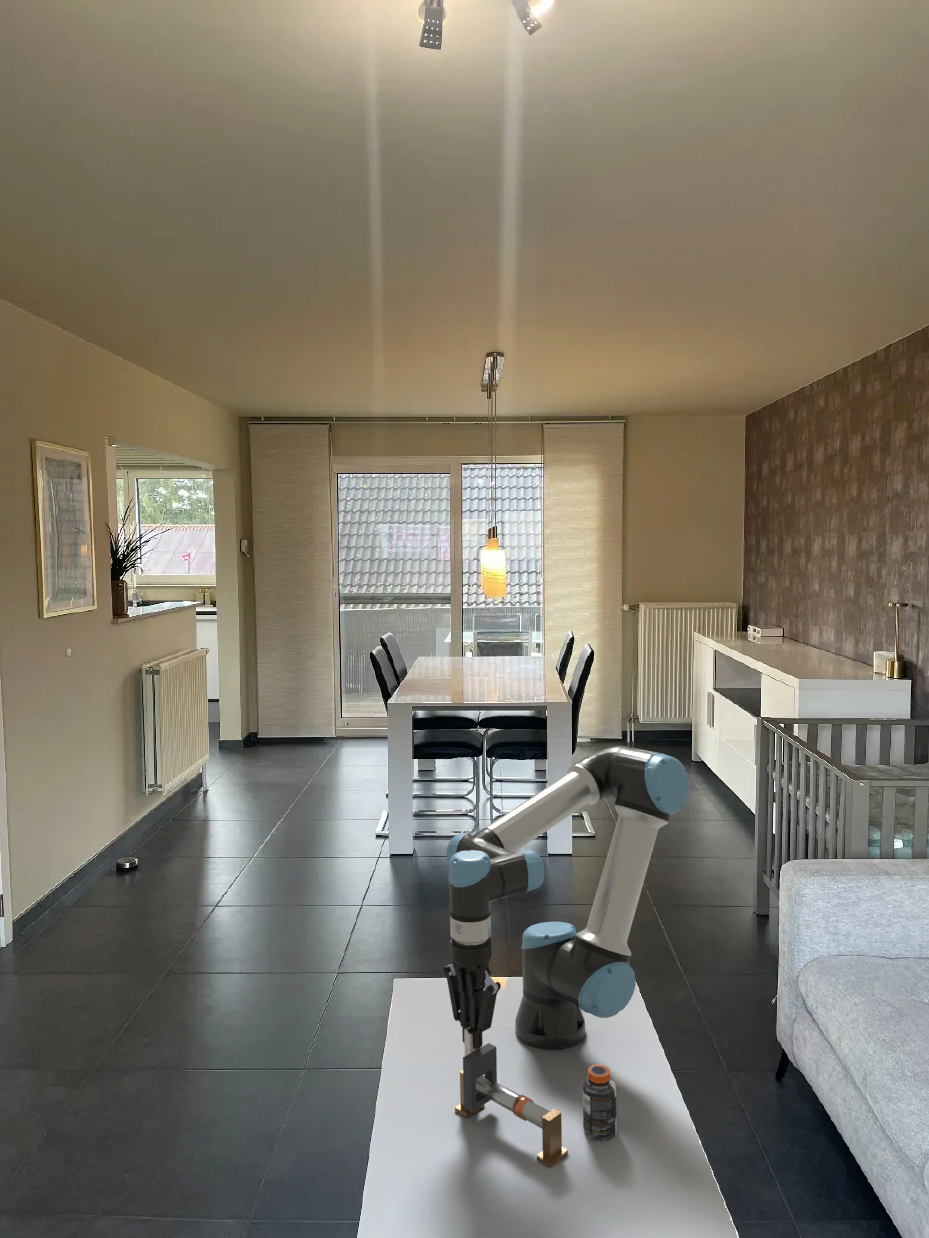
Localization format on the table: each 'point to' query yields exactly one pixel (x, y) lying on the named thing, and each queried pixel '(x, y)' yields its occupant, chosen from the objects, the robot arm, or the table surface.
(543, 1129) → the pipe rig
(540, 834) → the robot arm
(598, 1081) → the pill bottle
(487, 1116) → the table surface
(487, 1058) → the grey plate with hole
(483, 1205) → the table surface
